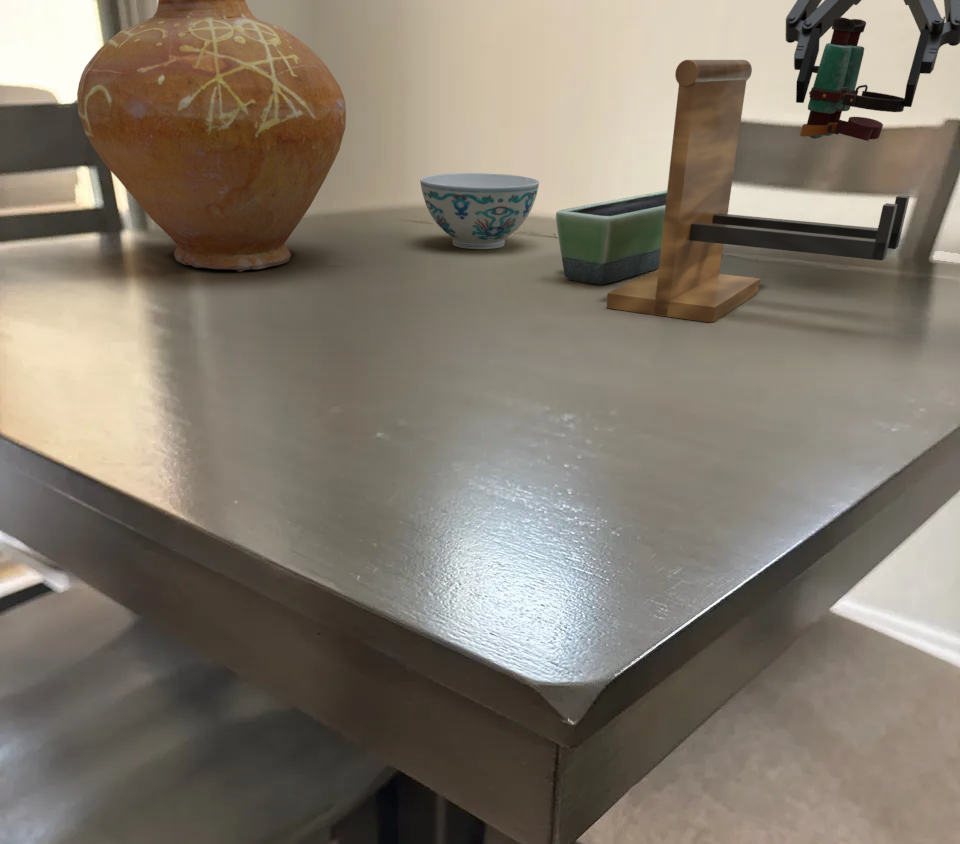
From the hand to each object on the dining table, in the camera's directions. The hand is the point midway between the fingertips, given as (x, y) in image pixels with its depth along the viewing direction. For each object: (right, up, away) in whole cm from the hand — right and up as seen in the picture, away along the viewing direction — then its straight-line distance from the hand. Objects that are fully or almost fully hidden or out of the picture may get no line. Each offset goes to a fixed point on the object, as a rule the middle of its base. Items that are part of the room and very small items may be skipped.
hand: (853, 94), depth 96 cm
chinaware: (-37, -3, +30) cm, 48 cm away
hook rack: (-10, -21, +2) cm, 23 cm away
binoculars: (+1, -2, +5) cm, 5 cm away
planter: (-18, -10, +20) cm, 28 cm away
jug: (-66, -10, +17) cm, 69 cm away
